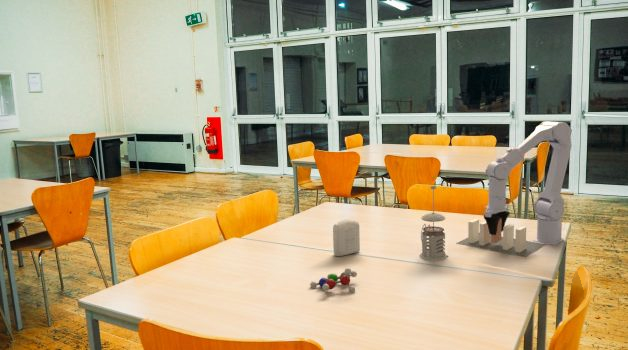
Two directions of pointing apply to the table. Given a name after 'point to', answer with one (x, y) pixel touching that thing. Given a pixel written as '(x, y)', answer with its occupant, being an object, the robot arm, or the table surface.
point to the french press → (436, 241)
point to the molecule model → (336, 280)
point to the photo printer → (346, 237)
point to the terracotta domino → (498, 235)
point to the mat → (498, 247)
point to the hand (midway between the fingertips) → (496, 232)
